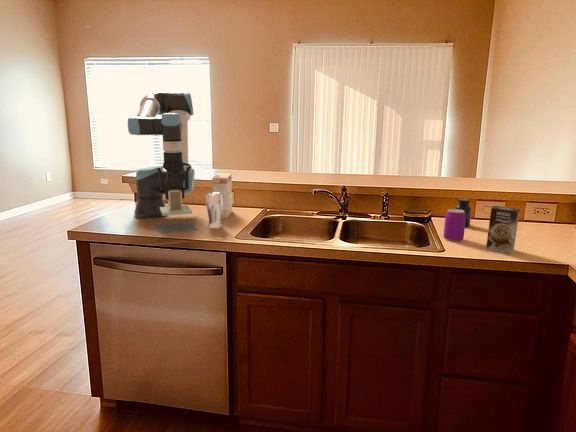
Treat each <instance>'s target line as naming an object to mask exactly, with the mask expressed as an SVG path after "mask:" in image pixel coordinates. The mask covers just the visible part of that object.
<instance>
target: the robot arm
mask: <svg viewBox="0 0 576 432" xmlns="http://www.w3.org/2000/svg"><path fill="white" fill-rule="evenodd" d="M157 115H160V116H159V117H158V116H157ZM193 115H194V107H193V100H192V96H191V92H188V91H182V90H180V91H168V90H165V91H163V90H158V91H157V90H156V91H154V92H151V93H148V94H147V95H145V96H144V97H143V98H142V99H141V101H140V103H139V110H138V112H137V115H136V116H129V117H128V119H127V131H128V133H129V134H130V135H132V136H162V151H163V152H162V153H163V164H162V165H157V166H156V165H155V166H154V165H153V166H147V167H146V166H145V167H142V168H139V169H137V171H136V173H135V175H136V177H135V180H136V181H135V182H136V193H137V195H136V196H137V202H136V206H135V210H134V217H135V218H137V219H142V220H143V219H157V218H164V217H166V216H163V215H162V213H161V211H160V207H167V206H169V208H171V197H170V191H169V190H179V191H180V199H181V207H182V205H183V199H185V194H190V193H192V192H193V189H194V186H195V185H194V184H195V174H196V172H195V171H196V170H195V169H194V168H192V165H191V164H190V163H189V131H188V130H189V128H188V127H189V125H188V124H189V123H188V121H190V120H191V117H192V116H193ZM164 196H165V200H167V202H168V205H166V203H165V200H164Z"/></svg>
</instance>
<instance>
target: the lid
mask: <svg viewBox="0 0 576 432" xmlns="http://www.w3.org/2000/svg"><path fill="white" fill-rule="evenodd" d="M169 191H170V197H171V208H169V206H168V205H166V207H160V211H161V213H162V215H163V216H165V217H167V216H177V215H179V216H180V215H191V214H192V215H193V210H192V209H191V208H190V206H189V205H188V204H186V205H183V204H182V207H181V199H180V191H179V190H169Z"/></svg>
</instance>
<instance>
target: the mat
mask: <svg viewBox="0 0 576 432" xmlns="http://www.w3.org/2000/svg"><path fill="white" fill-rule="evenodd" d="M155 228H156V230H157V233H158V234H160V235H161V234H174V233H182V232H183V233H185V232H186V233H187V232H194V231H199V229H198V228H197V226H196V225H195V223H194V222H193V221H181V222H171V223H170V222H169V223H156V224H155Z"/></svg>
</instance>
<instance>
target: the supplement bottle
mask: <svg viewBox="0 0 576 432" xmlns="http://www.w3.org/2000/svg"><path fill="white" fill-rule="evenodd" d="M470 201H471V200H470V199H468V198H458V201H457V204H456V206H455V208H454V209H460V210H464V212H465V216H466V221H465V228H467V227H468V228H469V227H471V226H470V225H471V218H472V206H471V205H470V204H471V202H470Z"/></svg>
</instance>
